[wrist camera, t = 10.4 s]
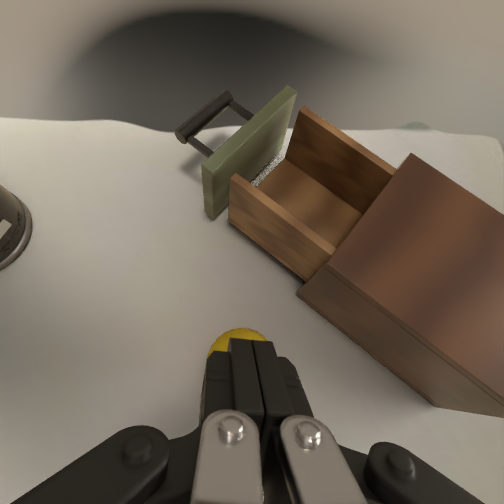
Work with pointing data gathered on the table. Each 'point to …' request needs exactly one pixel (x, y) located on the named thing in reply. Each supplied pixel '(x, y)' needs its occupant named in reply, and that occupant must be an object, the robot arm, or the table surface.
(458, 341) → the cabinet
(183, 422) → the table surface
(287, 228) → the drawer
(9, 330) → the table surface
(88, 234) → the table surface
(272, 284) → the table surface
